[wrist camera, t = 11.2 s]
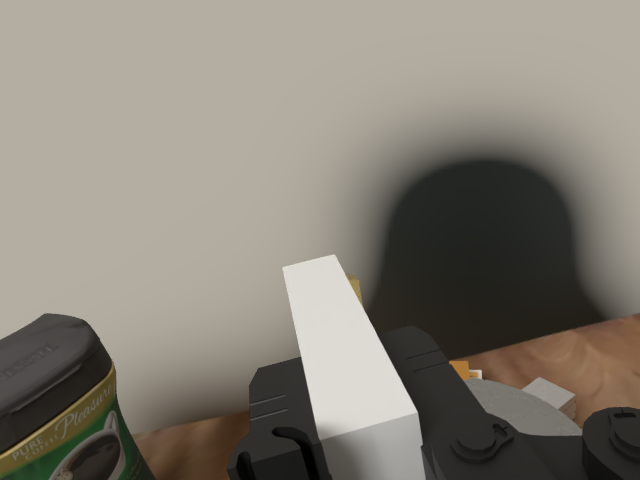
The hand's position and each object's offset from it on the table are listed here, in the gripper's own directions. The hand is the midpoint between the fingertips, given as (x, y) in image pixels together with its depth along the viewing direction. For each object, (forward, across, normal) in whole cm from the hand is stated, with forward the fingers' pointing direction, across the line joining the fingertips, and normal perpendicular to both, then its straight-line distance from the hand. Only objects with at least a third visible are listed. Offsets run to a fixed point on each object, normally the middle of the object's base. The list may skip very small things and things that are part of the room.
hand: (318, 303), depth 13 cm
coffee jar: (+12, -17, -23) cm, 31 cm away
